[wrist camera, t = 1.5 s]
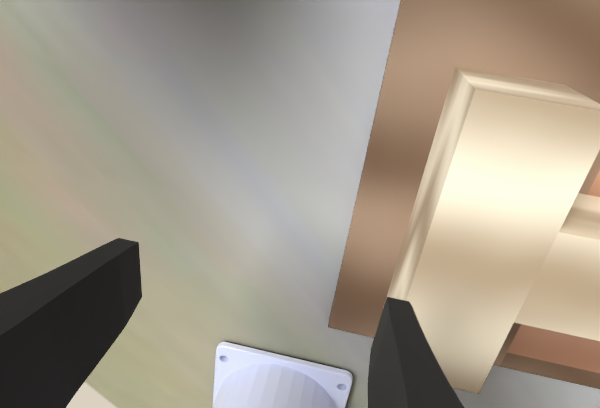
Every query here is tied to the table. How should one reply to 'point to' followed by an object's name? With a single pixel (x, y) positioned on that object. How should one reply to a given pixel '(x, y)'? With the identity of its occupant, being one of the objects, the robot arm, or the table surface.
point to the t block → (503, 221)
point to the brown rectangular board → (420, 134)
